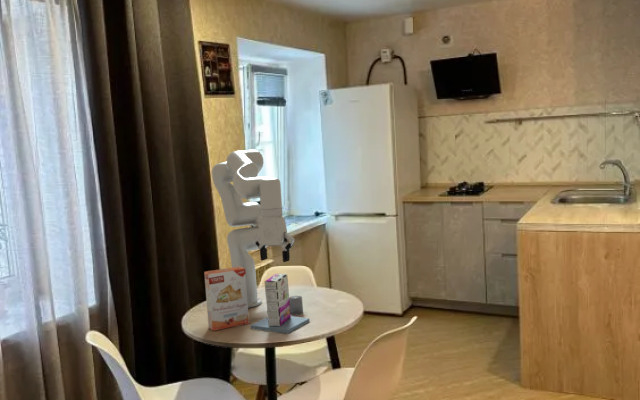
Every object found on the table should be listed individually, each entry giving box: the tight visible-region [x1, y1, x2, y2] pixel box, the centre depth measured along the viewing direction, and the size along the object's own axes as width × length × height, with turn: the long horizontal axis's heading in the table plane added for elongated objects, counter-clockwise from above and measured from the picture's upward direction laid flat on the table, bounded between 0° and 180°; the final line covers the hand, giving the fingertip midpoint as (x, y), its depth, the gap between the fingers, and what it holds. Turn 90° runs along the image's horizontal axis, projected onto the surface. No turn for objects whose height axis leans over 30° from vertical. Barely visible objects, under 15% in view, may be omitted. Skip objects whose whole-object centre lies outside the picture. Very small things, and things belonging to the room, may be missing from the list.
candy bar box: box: [264, 273, 292, 326], centre depth 204 cm, size 11×5×16 cm, turn 164°
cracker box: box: [203, 266, 250, 332], centre depth 207 cm, size 14×6×21 cm, turn 117°
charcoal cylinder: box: [289, 295, 304, 316], centre depth 219 cm, size 5×5×6 cm
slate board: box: [250, 315, 311, 334], centre depth 205 cm, size 16×14×1 cm
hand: (275, 260), depth 203 cm, fingers open, 9 cm apart
